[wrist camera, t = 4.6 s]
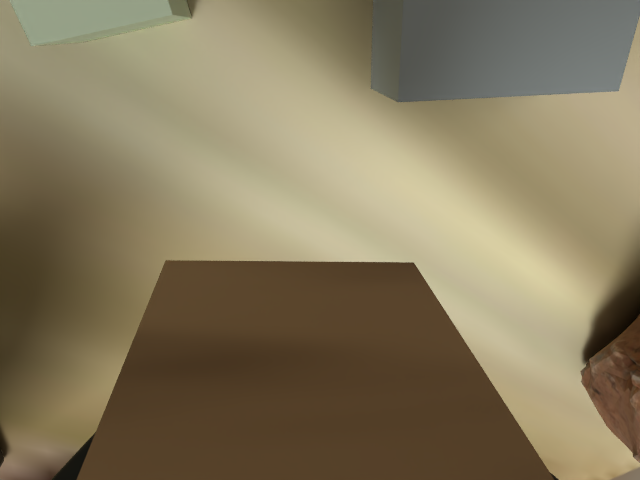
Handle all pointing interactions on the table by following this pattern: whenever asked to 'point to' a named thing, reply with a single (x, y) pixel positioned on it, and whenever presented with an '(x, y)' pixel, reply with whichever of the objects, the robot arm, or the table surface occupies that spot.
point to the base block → (499, 47)
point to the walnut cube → (303, 382)
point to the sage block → (93, 18)
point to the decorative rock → (618, 386)
